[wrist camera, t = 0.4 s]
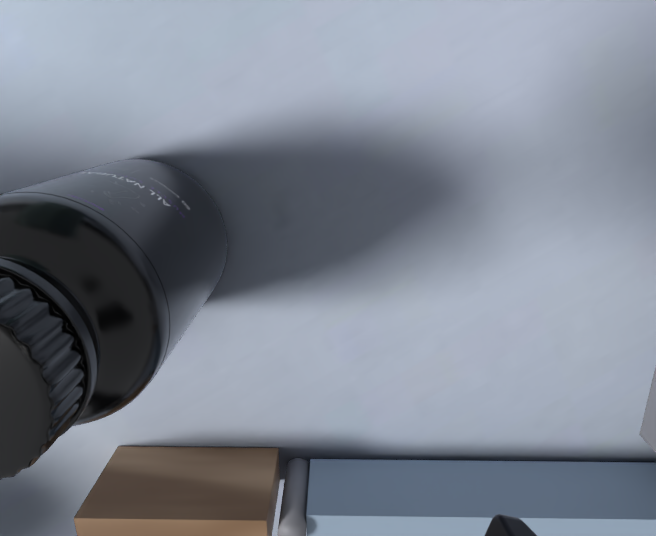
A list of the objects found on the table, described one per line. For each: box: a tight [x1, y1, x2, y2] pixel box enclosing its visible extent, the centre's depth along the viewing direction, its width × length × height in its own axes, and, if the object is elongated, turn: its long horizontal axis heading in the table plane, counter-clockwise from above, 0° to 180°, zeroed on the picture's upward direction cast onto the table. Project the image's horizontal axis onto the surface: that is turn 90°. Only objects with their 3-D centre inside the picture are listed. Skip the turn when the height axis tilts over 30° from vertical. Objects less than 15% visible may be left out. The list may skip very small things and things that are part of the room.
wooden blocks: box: [74, 446, 280, 536], centre depth 22 cm, size 2×31×6 cm, turn 90°
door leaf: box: [278, 458, 656, 536], centre depth 23 cm, size 1×19×4 cm, turn 90°
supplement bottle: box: [0, 159, 227, 480], centre depth 16 cm, size 7×7×12 cm
